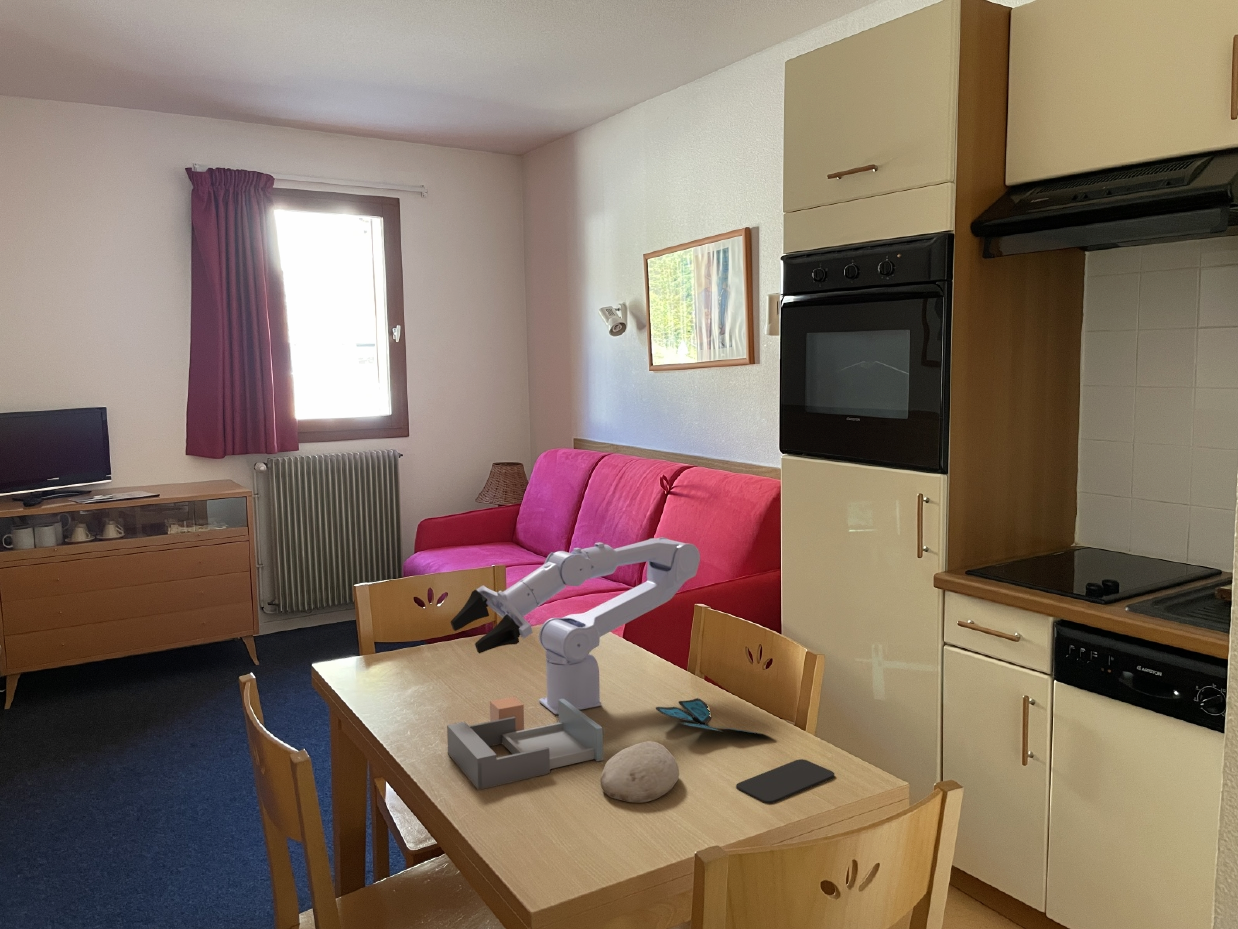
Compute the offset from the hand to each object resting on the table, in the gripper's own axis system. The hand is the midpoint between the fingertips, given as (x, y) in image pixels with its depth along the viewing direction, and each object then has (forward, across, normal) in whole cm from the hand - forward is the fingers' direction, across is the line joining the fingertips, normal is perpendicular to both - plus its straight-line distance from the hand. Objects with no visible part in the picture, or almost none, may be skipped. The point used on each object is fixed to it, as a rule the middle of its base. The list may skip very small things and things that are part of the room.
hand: (464, 637), depth 158 cm
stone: (-4, +40, +6) cm, 41 cm away
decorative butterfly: (-24, +33, +19) cm, 45 cm away
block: (+2, +10, +15) cm, 18 cm away
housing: (+8, +20, +8) cm, 23 cm away
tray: (+1, +22, +10) cm, 24 cm away
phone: (-20, +54, +9) cm, 58 cm away
